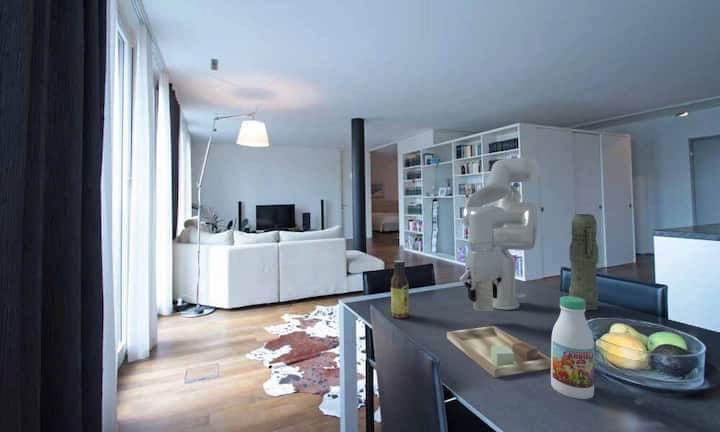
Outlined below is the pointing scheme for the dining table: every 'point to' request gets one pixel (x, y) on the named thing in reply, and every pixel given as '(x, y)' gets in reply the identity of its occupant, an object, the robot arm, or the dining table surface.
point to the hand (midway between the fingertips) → (482, 298)
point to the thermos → (584, 260)
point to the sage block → (501, 355)
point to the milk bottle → (572, 351)
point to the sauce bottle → (399, 291)
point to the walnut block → (524, 352)
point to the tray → (479, 350)
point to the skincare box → (484, 294)
